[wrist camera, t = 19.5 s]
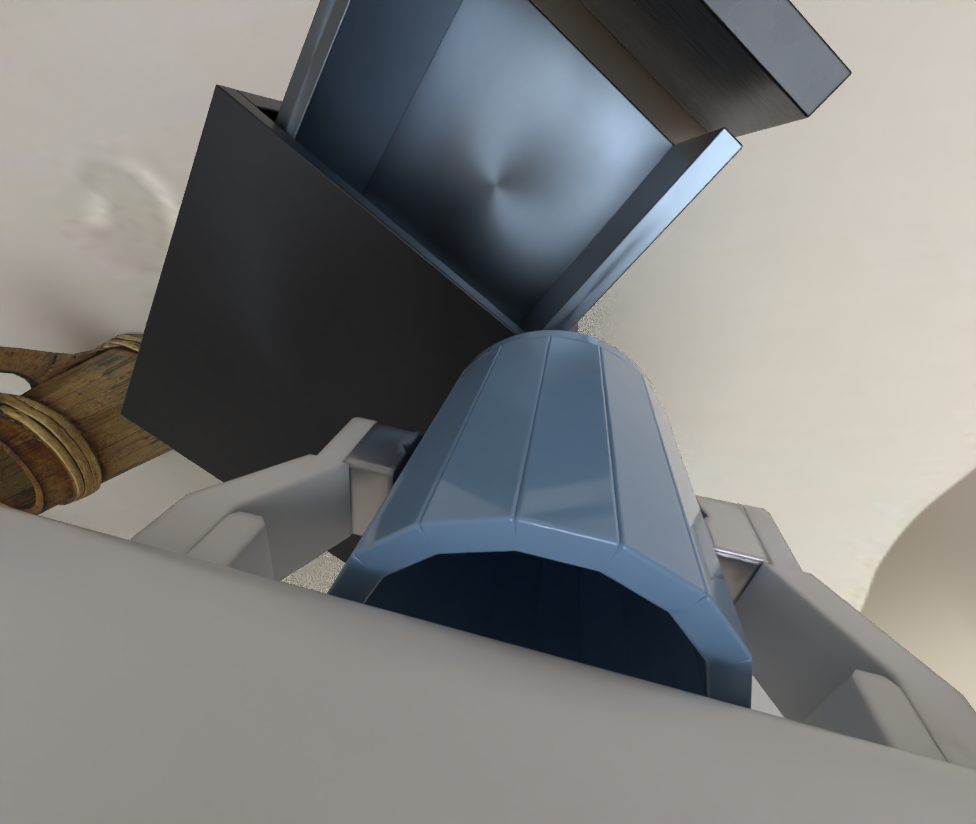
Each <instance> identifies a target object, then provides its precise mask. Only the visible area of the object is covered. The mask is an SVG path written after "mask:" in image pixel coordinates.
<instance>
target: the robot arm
mask: <svg viewBox="0 0 976 824" xmlns="http://www.w3.org/2000/svg"><path fill="white" fill-rule="evenodd" d="M422 437H423V435H422V433H421V432H419V431H415V430H411V429H407V428H403V427H399V426H395V425H391V424H387V423H383V422H377V421H374V420H370V419H365V418H361V417H355V418H352V419H351V420H350V421H349V422H348V423H347V424H346V425H345V427H344V428H343V429H342V430H341V431H340V432H339V433H338V434H337V435H336V436H335V437H334V438H333V439H332V440H331V441H330V442H329V443H328V444H327V445H326V446H325V447H324V448H323V449H322V450H321V452H320V453H319V454H318V455H317V456H316V455H311V454H309V455H306V456H303V457H300V458H297V459H294V460H290V461H287V462H284V463H281V464H278V465H275V466H272V467H269V468H266V469H263V470H260V471H257V472H254V473H251V474H248V475H245V476H242V477H239V478H236V479H233V480H230V481H227V482H224V483H221V484H218V485H214V486H211V487H208V488H205V489H202V490H199V491H196V492H193V493H190V494H187V495H185V496H184V497H183V498H181V499H180V500H179V501H178V502H176V503H175V504H174V505H173V506H171V507H170V508H169V509H168V510H166V511H165V512H164V513H163V514H161V515H160V516H159V517H158V518H156V519H155V520H154V521H153V522H151V523H150V524H149V525H148V526H146V527H145V528H144V529H143V530H141V531H140V532H139V533H138V534H136V535H135V536H134V537H133V538H131V539H130V540H126V539H123V538H119V537H115V536H112V535H108V534H104V533H101V532H97V531H93V530H90V529H86V528H82V527H79V526H75V525H71V524H68V523H64V522H60V521H56V520H53V519H49V518H45V517H42V516H38V515H34V514H31V513H27V512H23V511H20V510H16V509H12V508H9V507H5V506H1V505H0V824H976V712H975V711H974V709H973V708H972V706H971V705H970V704H969V702H968V701H967V700H966V698H965V697H964V696H963V695H962V694H961V693H960V692H958V691H957V690H956V689H955V688H954V687H952V686H951V685H950V684H948V683H947V682H946V681H945V680H943V679H942V678H941V677H940V676H938V675H937V674H936V673H935V672H933V671H932V670H931V669H930V668H929V667H927V666H926V665H925V664H924V663H922V662H921V661H920V660H919V659H917V658H916V657H915V656H913V655H912V654H911V653H910V652H909V651H907V650H906V649H905V648H904V647H902V646H901V645H900V644H899V643H897V642H896V641H895V640H894V639H892V638H891V637H890V636H888V635H887V634H886V633H885V632H884V631H882V630H881V629H880V628H879V627H877V626H876V625H875V624H874V623H872V622H871V621H870V620H869V619H867V618H866V617H865V616H864V615H862V614H861V613H860V612H859V611H857V610H856V609H855V608H854V607H852V606H851V605H850V604H849V603H847V602H846V601H845V600H844V599H842V598H841V597H840V596H839V595H837V594H836V593H835V592H834V591H832V590H831V589H830V588H829V587H827V586H826V585H825V584H824V583H822V582H821V581H820V580H819V579H817V578H816V577H815V576H814V575H812V574H810V573H806V572H803V571H802V570H801V568H800V566H799V564H798V563H797V561H796V559H795V557H794V555H793V554H792V552H791V550H790V548H789V547H788V545H787V543H786V541H785V540H784V538H783V536H782V534H781V532H780V531H779V529H778V527H777V525H776V524H775V522H774V520H773V518H772V517H771V515H770V513H769V512H768V511H766V510H765V509H763V508H758V507H753V506H748V505H743V504H738V503H737V504H735V503H730V502H726V501H721V500H716V499H712V498H707V497H702V496H698V495H695V496H696V499H697V502H698V505H699V508H700V511H701V513H702V516H703V519H704V522H705V525H706V527H707V530H708V533H709V536H710V539H711V542H712V544H713V547H714V550H715V553H716V556H717V558H718V561H719V564H720V567H721V570H722V573H723V575H724V578H725V581H726V584H727V587H728V589H729V592H730V595H731V598H732V601H733V604H734V606H735V609H736V612H737V615H738V618H739V620H740V623H741V626H742V629H743V632H744V635H745V637H746V640H747V643H748V646H749V649H750V651H751V655H752V658H753V668H752V675H753V676H754V678H755V679H756V680H757V682H758V683H759V684H760V686H761V687H762V688H763V690H764V691H765V693H766V694H767V695H768V697H769V698H770V699H771V701H772V702H773V703H774V705H775V706H776V707H777V709H778V710H779V711H780V713H781V714H782V715H783V717H784V718H782V717H779V716H775V715H771V714H768V713H764V712H760V711H757V710H753V709H749V708H746V707H742V706H738V705H735V704H731V703H727V702H723V701H720V700H716V699H712V698H709V697H705V696H701V695H698V694H694V693H690V692H687V691H683V690H679V689H676V688H672V687H668V686H665V685H661V684H657V683H653V682H650V681H646V680H642V679H639V678H635V677H631V676H628V675H624V674H620V673H617V672H613V671H609V670H606V669H602V668H598V667H595V666H591V665H587V664H584V663H580V662H576V661H572V660H569V659H565V658H561V657H558V656H554V655H550V654H547V653H543V652H539V651H536V650H532V649H528V648H525V647H521V646H517V645H514V644H510V643H506V642H503V641H499V640H495V639H491V638H488V637H484V636H480V635H477V634H473V633H469V632H466V631H462V630H458V629H455V628H451V627H447V626H444V625H440V624H436V623H432V622H429V621H425V620H421V619H418V618H414V617H410V616H407V615H403V614H399V613H396V612H392V611H388V610H384V609H381V608H377V607H373V606H370V605H366V604H362V603H359V602H355V601H351V600H348V599H344V598H340V597H336V596H333V595H329V594H325V593H322V592H318V591H314V590H311V589H307V588H303V587H300V586H296V585H292V584H289V583H285V582H281V580H282V579H284V578H285V577H287V576H288V575H290V574H292V573H293V572H295V571H296V570H298V569H299V568H301V567H303V566H304V565H306V564H307V563H309V562H310V561H312V560H314V559H315V558H317V557H318V556H320V555H321V554H323V553H325V552H326V551H328V550H329V549H331V548H332V547H334V546H336V545H337V544H339V543H340V542H342V541H343V540H345V539H347V538H348V537H350V536H351V533H352V534H356V535H361V536H362V535H363V533H364V532H365V530H366V529H367V527H368V525H369V524H370V522H371V520H372V519H373V517H374V515H375V514H376V512H377V511H378V509H379V507H380V506H381V504H382V502H383V501H384V499H385V497H386V496H387V494H388V493H389V491H390V489H391V488H392V486H393V484H394V483H395V481H396V480H397V478H398V476H399V475H400V473H401V471H402V470H403V468H404V466H405V465H406V463H407V462H408V460H409V458H410V457H411V455H412V453H413V452H414V450H415V448H416V447H417V445H418V444H419V442H420V440H421V439H422Z"/></svg>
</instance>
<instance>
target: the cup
mask: <svg viewBox="0 0 976 824" xmlns="http://www.w3.org/2000/svg"><path fill="white" fill-rule="evenodd" d="M327 594H329V595H333V596H336V597H340V598H344V599H348V600H351V601H355V602H359V603H362V604H366V605H370V606H373V607H377V608H381V609H384V610H388V611H392V612H396V613H399V614H403V615H407V616H410V617H414V618H418V619H421V620H425V621H429V622H432V623H436V624H440V625H444V626H447V627H451V628H455V629H458V630H462V631H466V632H469V633H473V634H477V635H480V636H484V637H488V638H491V639H495V640H499V641H503V642H506V643H510V644H514V645H517V646H521V647H525V648H528V649H532V650H536V651H539V652H543V653H547V654H550V655H554V656H558V657H561V658H565V659H569V660H572V661H576V662H580V663H584V664H587V665H591V666H595V667H598V668H602V669H606V670H609V671H613V672H617V673H620V674H624V675H628V676H631V677H635V678H639V679H642V680H646V681H650V682H653V683H657V684H661V685H665V686H668V687H672V688H676V689H679V690H683V691H687V692H690V693H694V694H698V695H701V696H705V697H709V698H712V699H716V700H720V701H723V702H727V703H731V704H735V705H738V706H742V707H746V708H749V709H751V702H752V668H753V658H752V655H751V651H750V649H749V646H748V643H747V640H746V637H745V635H744V632H743V629H742V626H741V623H740V620H739V618H738V615H737V612H736V609H735V606H734V604H733V601H732V598H731V595H730V592H729V589H728V587H727V584H726V581H725V578H724V575H723V573H722V570H721V567H720V564H719V561H718V558H717V556H716V553H715V550H714V547H713V544H712V542H711V539H710V536H709V533H708V530H707V527H706V525H705V522H704V519H703V516H702V513H701V511H700V508H699V505H698V502H697V499H696V496H695V494H694V491H693V488H692V485H691V482H690V480H689V477H688V474H687V471H686V468H685V465H684V463H683V460H682V457H681V454H680V451H679V449H678V446H677V443H676V440H675V437H674V434H673V432H672V429H671V426H670V423H669V420H668V418H667V415H666V412H665V409H664V407H663V406H662V404H661V403H660V401H659V399H658V396H657V393H656V391H655V389H654V387H653V386H652V384H651V382H650V380H649V379H648V378H647V376H646V375H645V373H644V372H643V371H642V369H641V368H640V367H639V366H638V365H637V364H636V363H635V362H634V361H633V360H632V359H630V358H629V357H628V356H626V355H625V354H624V353H623V352H621V351H620V350H618V349H617V348H615V347H613V346H611V345H610V344H608V343H606V342H604V341H601V340H599V339H596V338H594V337H591V336H588V335H584V334H580V333H576V332H570V331H562V330H541V331H533V332H526V333H523V334H519V335H515V336H512V337H509V338H507V339H504V340H502V341H499V342H498V343H496V344H494V345H492V346H491V347H489V348H487V349H486V350H485V351H483V352H482V353H481V354H479V355H478V356H477V357H476V358H475V359H474V360H473V361H472V362H471V363H470V364H469V365H468V366H467V367H466V368H465V370H463V372H462V374H461V375H460V377H459V378H458V380H457V382H456V383H455V385H454V386H453V388H452V390H451V391H450V393H449V395H448V396H447V398H446V399H445V401H444V403H443V404H442V406H441V408H440V409H439V411H438V412H437V414H436V416H435V417H434V419H433V421H432V422H431V424H430V426H429V427H428V429H427V430H426V432H425V434H424V435H423V437H422V439H421V440H420V442H419V444H418V445H417V447H416V448H415V450H414V452H413V453H412V455H411V457H410V458H409V460H408V462H407V463H406V465H405V466H404V468H403V470H402V471H401V473H400V475H399V476H398V478H397V480H396V481H395V483H394V484H393V486H392V488H391V489H390V491H389V493H388V494H387V496H386V497H385V499H384V501H383V502H382V504H381V506H380V507H379V509H378V511H377V512H376V514H375V515H374V517H373V519H372V520H371V522H370V524H369V525H368V527H367V529H366V530H365V532H364V533H363V535H362V537H361V538H360V540H359V542H358V543H357V545H356V547H355V548H354V550H353V551H352V553H351V555H350V556H349V558H348V560H347V561H346V563H345V565H344V566H343V568H342V569H341V571H340V573H339V574H338V576H337V578H336V579H335V581H334V583H333V584H332V586H331V587H330V589H329V591H328V592H327Z"/></svg>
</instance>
